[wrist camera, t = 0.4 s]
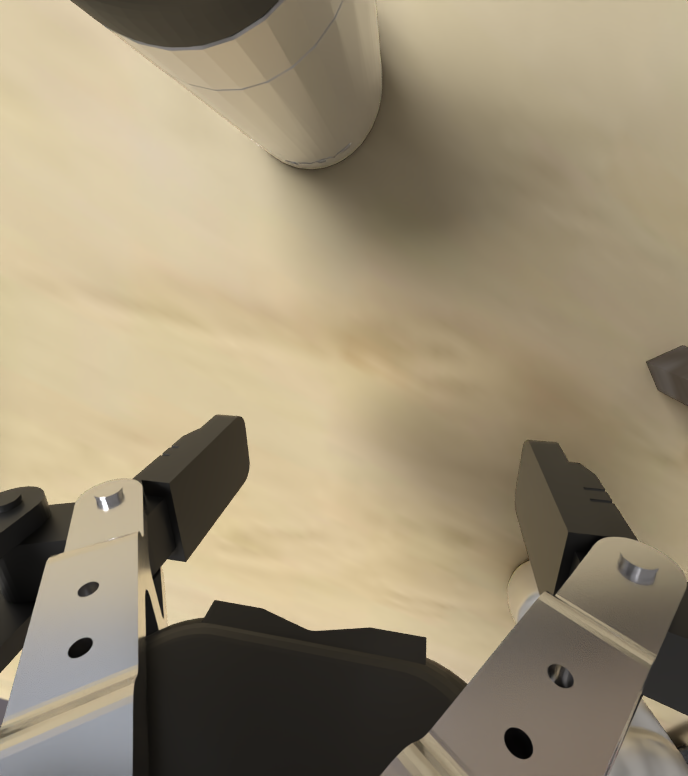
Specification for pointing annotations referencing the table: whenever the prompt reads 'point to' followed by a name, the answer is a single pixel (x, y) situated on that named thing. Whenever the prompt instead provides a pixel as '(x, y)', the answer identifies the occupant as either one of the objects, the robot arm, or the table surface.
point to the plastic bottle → (645, 735)
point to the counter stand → (671, 373)
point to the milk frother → (684, 752)
